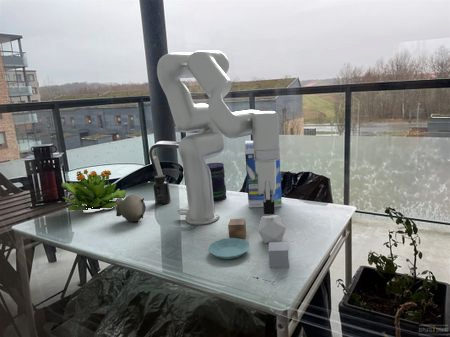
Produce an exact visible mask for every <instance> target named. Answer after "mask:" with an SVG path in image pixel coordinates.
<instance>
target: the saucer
mask: <svg viewBox="0 0 450 337" xmlns="http://www.w3.org/2000/svg"><path fill="white" fill-rule="evenodd" d="M249 248H250V244H249V242H248V241H247V240H245V239H238V238H229V237H227V238H221V239H218V240H215V241H213V242H212V243H211V244H210V245H209V246H208V252H209V253H210V254H212V255H213V256H214V257H217V258H219V259H223V260H233V259H236V258H239V257H241V256H242V255H245V253H246V252H247V251H248V250H249Z"/></svg>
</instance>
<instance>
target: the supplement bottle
mask: <svg viewBox="0 0 450 337" xmlns="http://www.w3.org/2000/svg"><path fill="white" fill-rule="evenodd" d="M153 180H154V183H153V184H152V189H153V196H154V202H155V204H156V203H157V204H156V205H158V204H162V205H166V204H169V203H171V202H172V199H171V192H170V185H169V184H170V183H169V182H168V181H167V178H166V175H165V174H159V175H155V176H154V178H153Z"/></svg>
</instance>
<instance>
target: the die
mask: <svg viewBox="0 0 450 337" xmlns="http://www.w3.org/2000/svg"><path fill="white" fill-rule="evenodd" d="M286 229H287V227H286V225H285V224H284V222H283V220H282V219H281V217H280V216H279V214H270V215H262V216H261V218H260V221H259V223H258V227H257V232H258V234H259V235H260V237H261V239H262V241H263V244H269V242H283V238H284V236H285V232H286Z"/></svg>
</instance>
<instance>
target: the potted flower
mask: <svg viewBox="0 0 450 337" xmlns="http://www.w3.org/2000/svg"><path fill="white" fill-rule="evenodd" d="M89 172H90V173H89ZM85 175H86V176H87V178H86V176H85ZM111 175H112V172H111V171H110V170H106V169H105V170H104V171H102V172H100V174H97V171H95V170H93V171H88V169H86V168H85V169H84V170H83V172H81V170H79V171H77V172H76V178H75V180H77V181H78V182H69V183H68V182H62V183H61V188H64V189H67V190H68V192H70V193H71V194H72V195H73V196H72V197H73V198H74V200H73V199H71V198H67V197H66V196H61V198H63V199H64V200H66V201H67V202H68V203H69V204H71V205H70V206H68V209H67V210H68V211H82V210H88V208H91V209H100V208H112V207H113V208H115V207H116V205H117V202H116V199H117V198H118V199H119V198H122V200H124V199H125V198H126V195H127V193H128V191H127V190H126V191H125V190H124V189H123V190H121V189H120V188H117V190H115V189H116V187H117V183H113V184H112V183H111V182H108V180H109V179H110V176H111ZM106 182H107V184H106ZM86 205H87V206H86ZM92 207H93V208H92ZM86 208H87V209H86ZM113 208H112V209H113Z"/></svg>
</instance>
